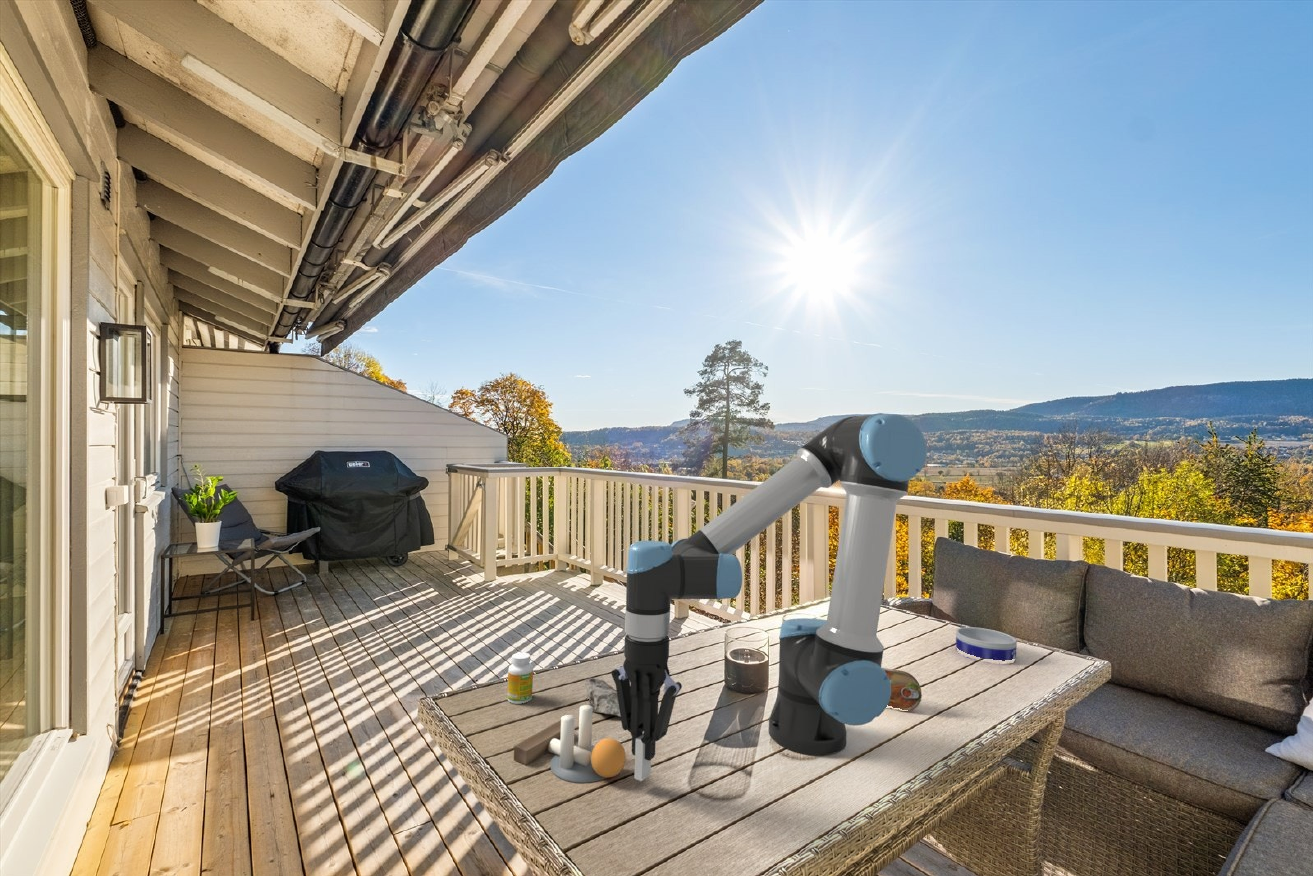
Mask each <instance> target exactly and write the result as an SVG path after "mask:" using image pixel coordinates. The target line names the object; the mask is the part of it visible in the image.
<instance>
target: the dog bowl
mask: <svg viewBox="0 0 1313 876" xmlns="http://www.w3.org/2000/svg"><path fill="white" fill-rule="evenodd" d="M955 636H956V637H955V641H956V642H955V648H956V647H957V648H958V649H959V650H961V651H963V652H965V653H967V654H970V655H974V656H976V657H980V658H984V659H993V660H1002V661H1005V660H1012V659H1015V658H1016V659H1017V644H1018V641H1017V639H1016V638H1015V637H1014V636H1012V635H1011V634H1010V635H1009V634H1007V633H1004V632H1002V631H998V630H994V629H990V628H983V627H975V626H973V627H972V626H971V627H970V626H968V627H967V626H964V627H959V628H957V629H956V630H955Z"/></svg>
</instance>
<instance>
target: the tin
mask: <svg viewBox="0 0 1313 876" xmlns="http://www.w3.org/2000/svg"><path fill="white" fill-rule="evenodd" d="M882 668H883V669H884V670H885V672H886V674H887V676H888V678H889V680H890V683H891V696H890V700H889V703H888V706H892V707H893V708H900V709H902V710H908V711H907V712H910V711H913V710H915V709H916V708H918V707H919V705H920V704H921V702H922V696H923V695H922V693H923V692H922V689H921V686H920V683H919V681H918V679H916V677H915V676H914V675H912V674H911V673H909V672H907V671H904V670H898V669H893V668H887V667H882Z"/></svg>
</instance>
